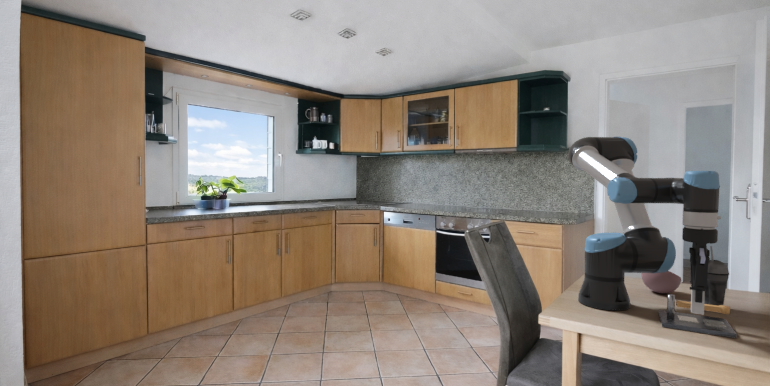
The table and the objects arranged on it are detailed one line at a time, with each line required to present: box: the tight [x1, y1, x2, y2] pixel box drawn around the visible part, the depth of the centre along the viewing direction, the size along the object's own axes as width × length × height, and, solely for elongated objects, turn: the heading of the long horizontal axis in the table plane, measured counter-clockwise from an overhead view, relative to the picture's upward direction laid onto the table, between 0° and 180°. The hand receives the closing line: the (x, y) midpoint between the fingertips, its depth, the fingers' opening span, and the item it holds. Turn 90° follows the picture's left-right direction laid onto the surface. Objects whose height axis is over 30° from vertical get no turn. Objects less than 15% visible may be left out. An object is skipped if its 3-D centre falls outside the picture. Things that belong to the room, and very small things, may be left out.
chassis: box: [657, 293, 738, 339], centre depth 114 cm, size 16×13×8 cm
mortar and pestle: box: [640, 270, 682, 294], centre depth 146 cm, size 12×12×11 cm
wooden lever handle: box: [675, 299, 731, 315], centre depth 113 cm, size 12×2×2 cm, turn 59°
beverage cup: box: [704, 245, 730, 306], centre depth 129 cm, size 7×7×20 cm
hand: (697, 313), depth 109 cm, fingers closed
